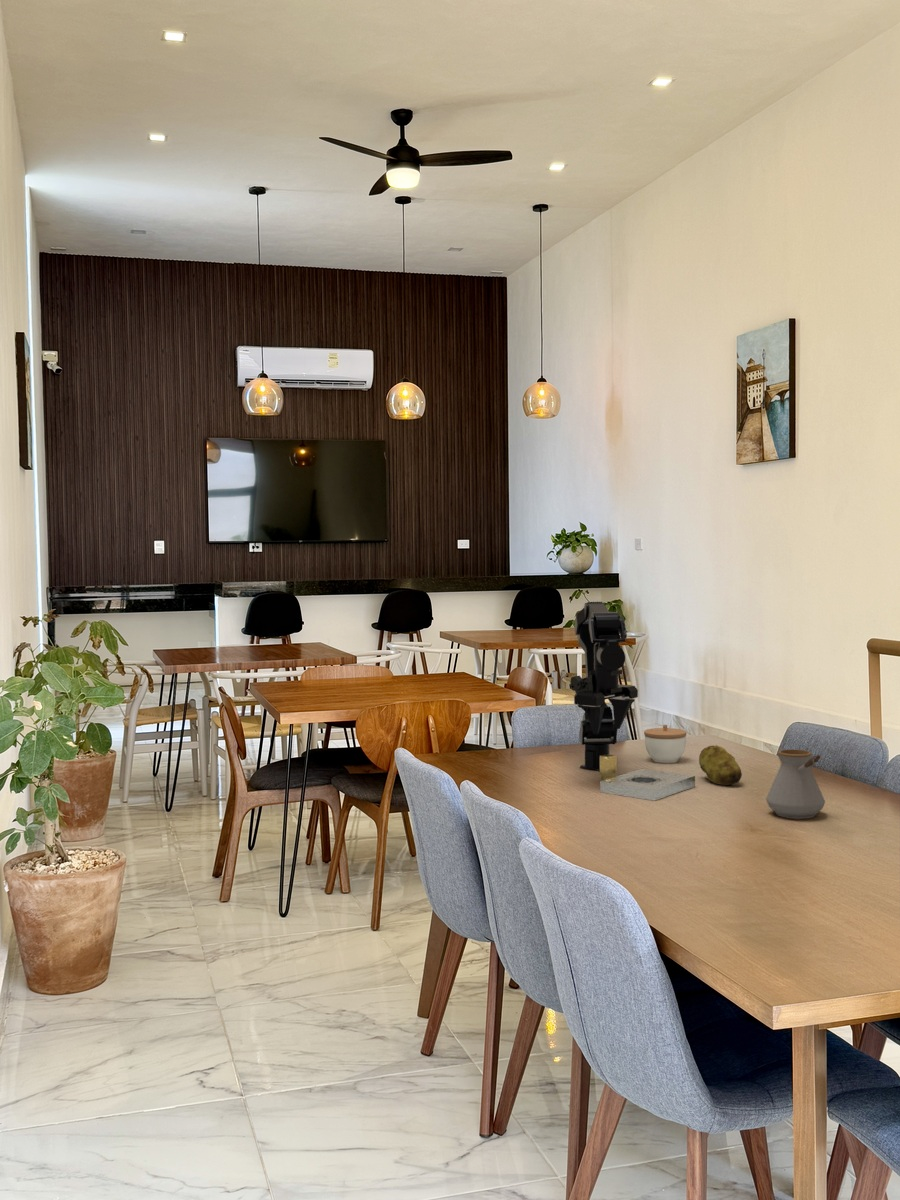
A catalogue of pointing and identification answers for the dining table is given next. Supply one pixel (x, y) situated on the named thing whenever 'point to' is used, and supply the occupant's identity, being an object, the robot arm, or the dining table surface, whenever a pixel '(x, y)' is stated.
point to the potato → (719, 766)
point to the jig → (647, 784)
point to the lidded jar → (665, 744)
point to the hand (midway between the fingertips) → (606, 731)
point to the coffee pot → (796, 786)
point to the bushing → (608, 766)
